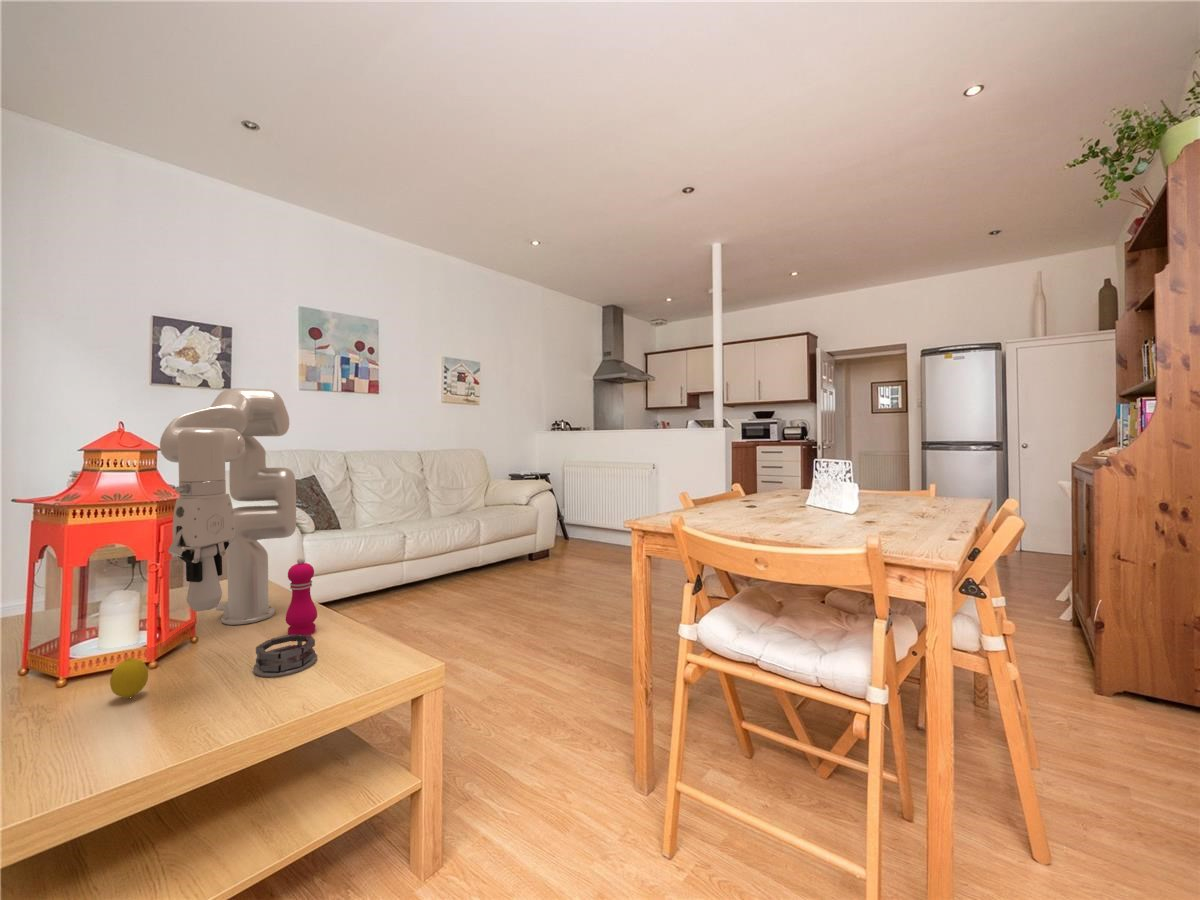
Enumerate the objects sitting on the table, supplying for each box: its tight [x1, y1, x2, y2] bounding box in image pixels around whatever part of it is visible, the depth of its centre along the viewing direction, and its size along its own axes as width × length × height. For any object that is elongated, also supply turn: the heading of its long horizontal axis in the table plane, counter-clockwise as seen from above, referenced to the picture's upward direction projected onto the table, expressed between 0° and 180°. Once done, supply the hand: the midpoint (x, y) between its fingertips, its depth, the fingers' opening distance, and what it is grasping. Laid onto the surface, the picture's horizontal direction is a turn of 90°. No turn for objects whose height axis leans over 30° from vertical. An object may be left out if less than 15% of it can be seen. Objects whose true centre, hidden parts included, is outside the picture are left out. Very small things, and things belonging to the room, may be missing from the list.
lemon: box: [109, 657, 149, 699], centre depth 101 cm, size 6×6×8 cm
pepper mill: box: [285, 557, 318, 635], centre depth 134 cm, size 7×7×20 cm
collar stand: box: [252, 634, 318, 679], centre depth 116 cm, size 12×12×5 cm
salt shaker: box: [186, 545, 223, 612], centre depth 105 cm, size 6×6×13 cm
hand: (204, 577), depth 105 cm, fingers closed on salt shaker, 3 cm apart
